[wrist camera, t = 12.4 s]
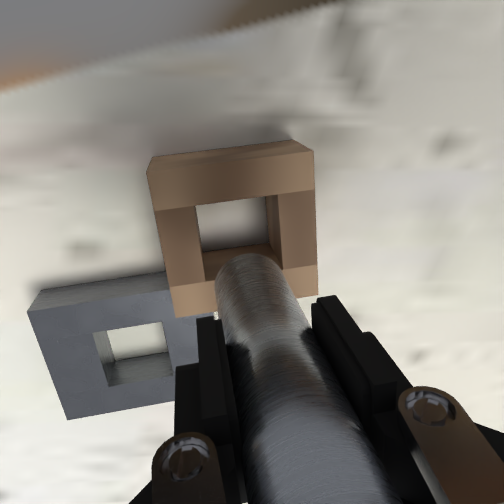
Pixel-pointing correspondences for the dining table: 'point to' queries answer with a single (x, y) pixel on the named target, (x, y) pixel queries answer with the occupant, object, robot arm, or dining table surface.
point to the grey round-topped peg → (290, 398)
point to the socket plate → (98, 346)
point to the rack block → (227, 189)
